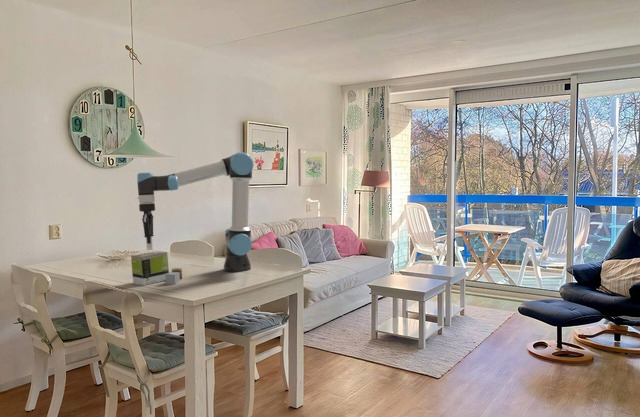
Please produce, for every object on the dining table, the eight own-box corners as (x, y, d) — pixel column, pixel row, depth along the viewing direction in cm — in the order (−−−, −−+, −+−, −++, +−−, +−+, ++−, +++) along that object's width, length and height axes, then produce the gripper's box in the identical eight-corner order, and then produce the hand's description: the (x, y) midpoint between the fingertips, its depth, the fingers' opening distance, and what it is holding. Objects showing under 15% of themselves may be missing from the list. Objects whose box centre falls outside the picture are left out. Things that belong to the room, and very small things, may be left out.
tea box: (158, 277, 257) (157, 250, 256) (169, 280, 251) (168, 251, 250) (132, 283, 246) (130, 254, 245) (143, 286, 239) (141, 256, 238)
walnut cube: (182, 277, 258) (181, 267, 257) (182, 279, 253) (181, 269, 252) (172, 278, 256) (171, 268, 256) (172, 280, 251) (171, 270, 251)
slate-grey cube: (179, 282, 246) (179, 272, 245) (175, 284, 241) (174, 274, 240) (170, 282, 246) (170, 272, 246) (165, 284, 242) (165, 274, 241)
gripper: (142, 202, 251) (145, 248, 253) (135, 204, 238) (139, 252, 240) (157, 202, 252) (160, 247, 254) (151, 203, 239) (154, 251, 241)
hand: (150, 249), depth 247 cm, fingers closed
